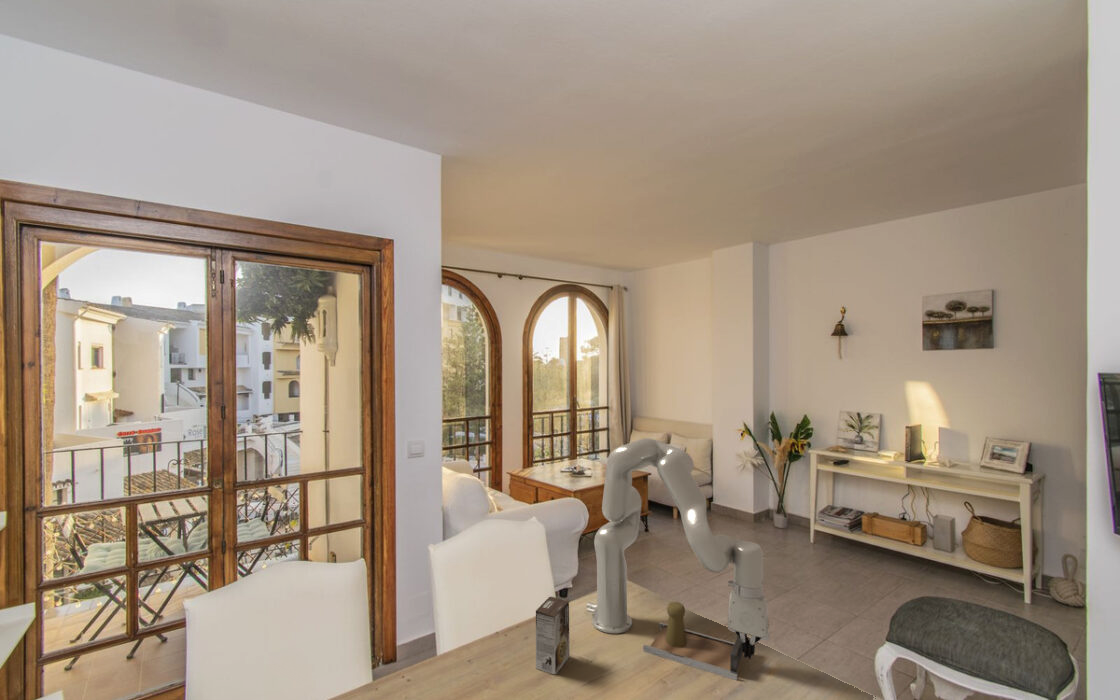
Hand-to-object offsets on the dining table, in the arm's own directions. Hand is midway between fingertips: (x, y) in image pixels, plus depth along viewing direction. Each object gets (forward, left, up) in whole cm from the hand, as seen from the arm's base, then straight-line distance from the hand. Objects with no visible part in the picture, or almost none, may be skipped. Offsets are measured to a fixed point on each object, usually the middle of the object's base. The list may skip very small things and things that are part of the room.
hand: (748, 655), depth 139 cm
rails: (-15, 0, -3) cm, 15 cm away
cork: (-20, 0, -2) cm, 20 cm away
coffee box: (-48, -25, -3) cm, 54 cm away
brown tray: (-14, 0, -3) cm, 14 cm away
